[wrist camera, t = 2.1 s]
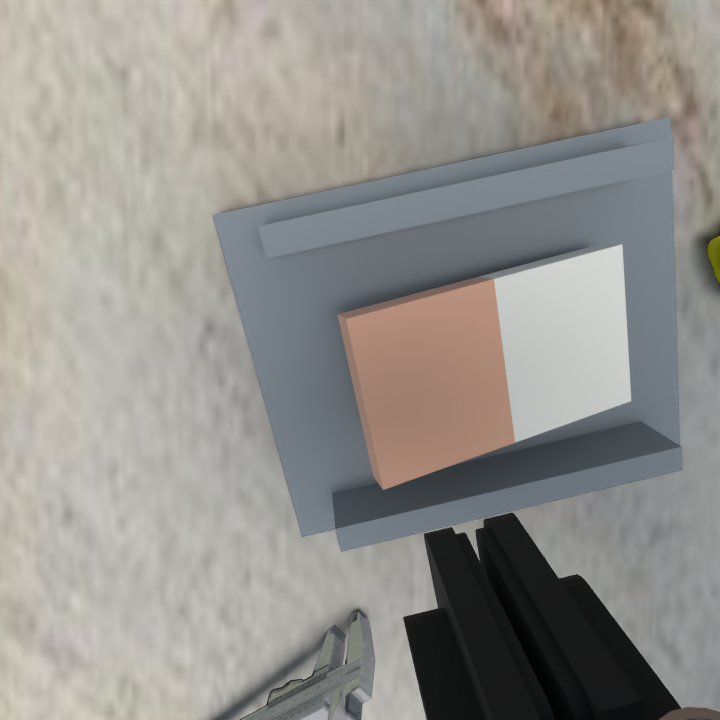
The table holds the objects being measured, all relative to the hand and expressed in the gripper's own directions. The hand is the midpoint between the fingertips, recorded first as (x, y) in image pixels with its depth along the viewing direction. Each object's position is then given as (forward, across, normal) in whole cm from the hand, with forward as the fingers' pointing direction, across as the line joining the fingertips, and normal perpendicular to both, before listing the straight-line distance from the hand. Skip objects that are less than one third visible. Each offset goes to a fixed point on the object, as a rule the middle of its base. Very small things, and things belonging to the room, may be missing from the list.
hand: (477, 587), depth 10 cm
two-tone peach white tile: (+12, -5, 0) cm, 13 cm away
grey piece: (+17, -5, 0) cm, 18 cm away
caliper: (+18, +12, +20) cm, 29 cm away
